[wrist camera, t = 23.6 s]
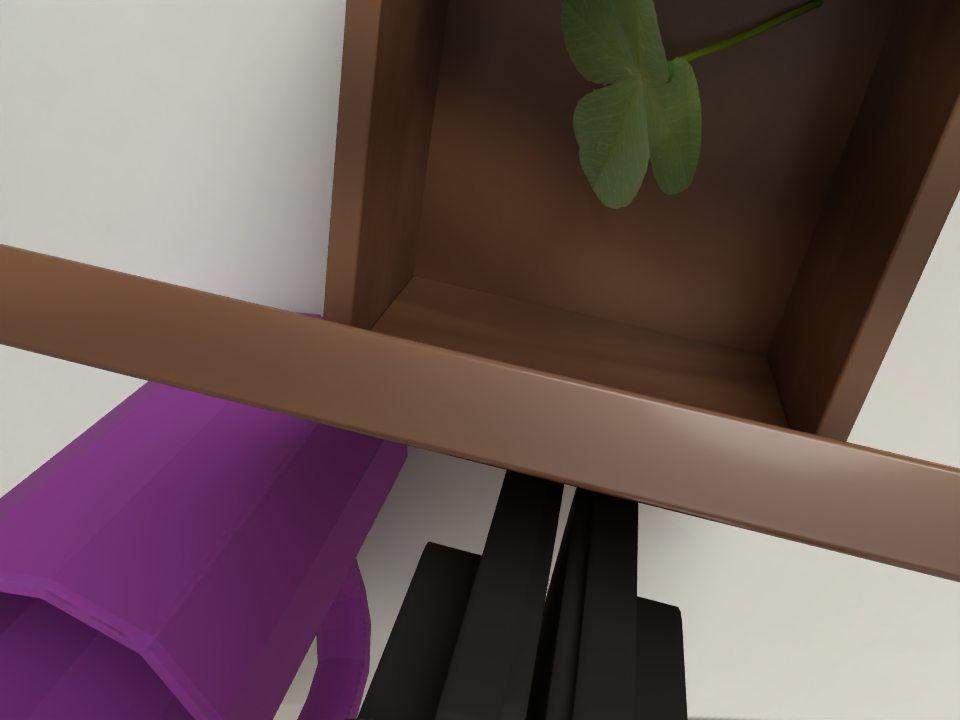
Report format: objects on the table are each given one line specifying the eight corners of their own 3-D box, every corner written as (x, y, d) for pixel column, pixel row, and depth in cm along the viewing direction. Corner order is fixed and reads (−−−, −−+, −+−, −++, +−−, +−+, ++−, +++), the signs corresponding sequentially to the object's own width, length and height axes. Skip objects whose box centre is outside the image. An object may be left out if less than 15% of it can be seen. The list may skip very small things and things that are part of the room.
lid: (-175, 202, 7) (-205, 294, 6) (1624, 623, 5) (1613, 745, 5) (315, 367, 21) (307, 396, 21) (829, 491, 19) (823, 522, 19)
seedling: (699, 49, 26) (529, 116, 25) (780, -214, 19) (548, -140, 18) (835, 200, 23) (650, 284, 22) (990, -43, 16) (731, 60, 15)
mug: (373, 281, 28) (122, 553, 14) (482, 615, 34) (373, 1026, 20) (159, 323, 30) (-222, 586, 17) (294, 627, 36) (89, 999, 23)
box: (448, -169, 21) (362, -236, 15) (955, -86, 20) (1102, -120, 14) (395, 284, 28) (318, 374, 21) (779, 371, 26) (822, 496, 20)
